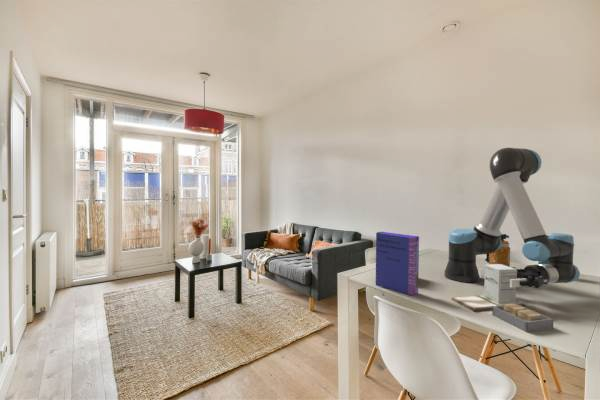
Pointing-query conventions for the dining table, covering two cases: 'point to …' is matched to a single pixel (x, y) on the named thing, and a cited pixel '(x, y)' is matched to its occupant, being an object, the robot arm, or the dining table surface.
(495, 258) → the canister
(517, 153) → the robot arm
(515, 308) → the oak block
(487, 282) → the supplement box
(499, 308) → the grey tray
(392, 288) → the cereal box
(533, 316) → the oak block
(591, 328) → the dining table surface
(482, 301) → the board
